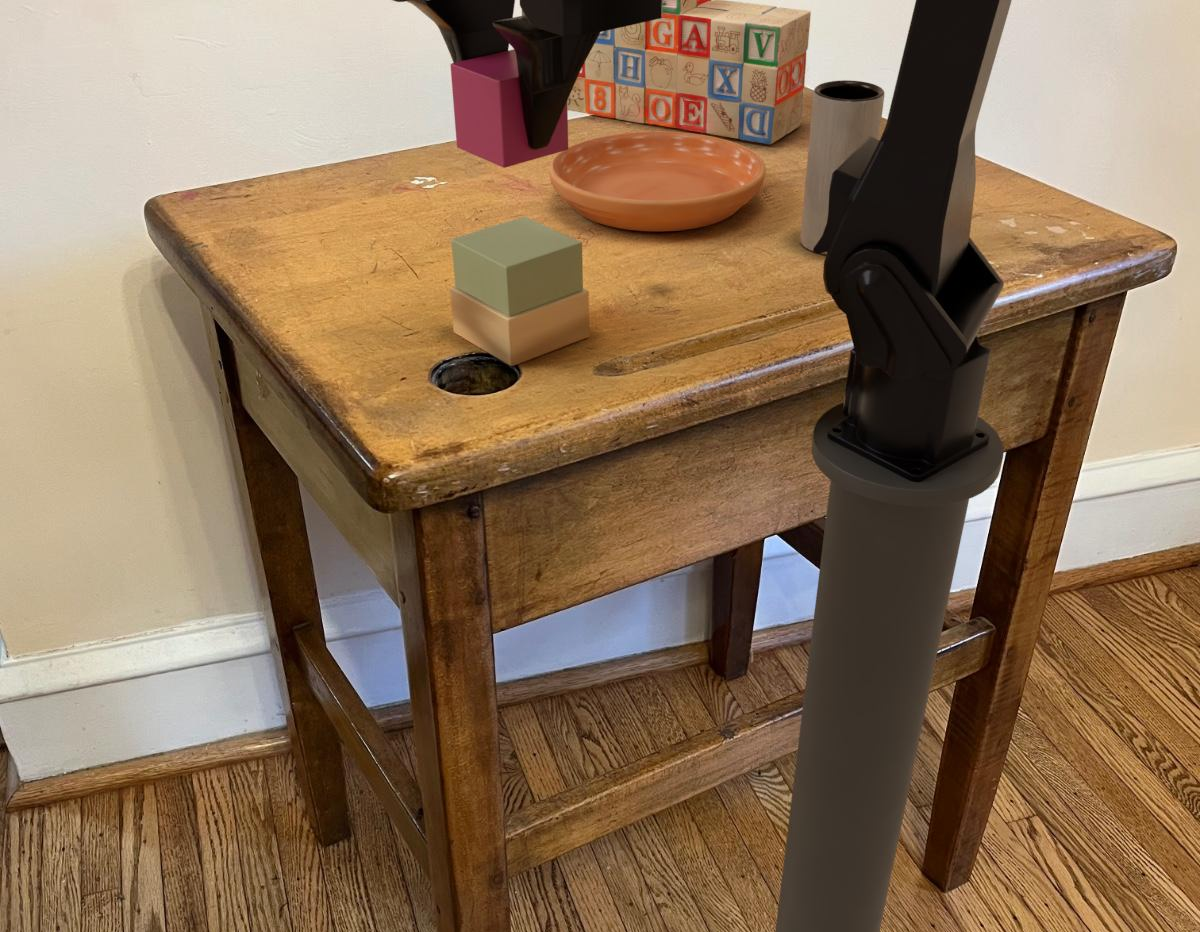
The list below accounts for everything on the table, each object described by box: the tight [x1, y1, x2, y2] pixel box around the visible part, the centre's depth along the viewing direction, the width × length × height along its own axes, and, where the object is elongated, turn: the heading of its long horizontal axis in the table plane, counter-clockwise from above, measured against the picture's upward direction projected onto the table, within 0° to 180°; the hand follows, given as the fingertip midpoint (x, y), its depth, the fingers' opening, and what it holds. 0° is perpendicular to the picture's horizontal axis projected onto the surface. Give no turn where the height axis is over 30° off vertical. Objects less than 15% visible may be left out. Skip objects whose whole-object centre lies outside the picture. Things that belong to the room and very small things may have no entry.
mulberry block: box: [449, 48, 569, 169], centre depth 68 cm, size 4×4×4 cm
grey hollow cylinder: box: [800, 79, 885, 255], centre depth 83 cm, size 4×4×10 cm
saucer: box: [548, 131, 767, 232], centre depth 92 cm, size 16×16×3 cm
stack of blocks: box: [567, 0, 812, 145], centre depth 105 cm, size 21×6×12 cm, turn 58°
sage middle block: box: [450, 215, 584, 316], centre depth 73 cm, size 6×6×3 cm
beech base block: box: [449, 285, 591, 367], centre depth 75 cm, size 6×6×3 cm
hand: (512, 137), depth 69 cm, fingers closed on mulberry block, 4 cm apart
